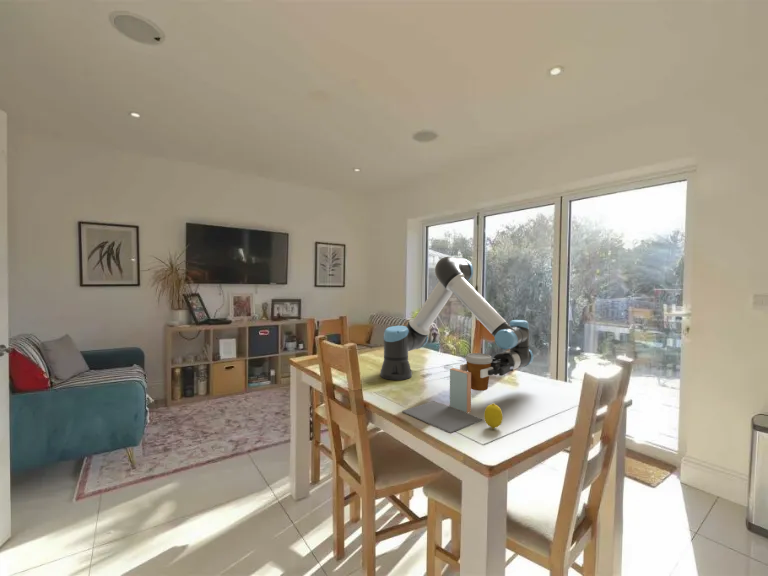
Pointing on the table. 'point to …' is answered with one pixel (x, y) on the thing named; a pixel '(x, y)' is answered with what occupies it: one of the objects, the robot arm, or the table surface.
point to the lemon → (493, 416)
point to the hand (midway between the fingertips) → (470, 371)
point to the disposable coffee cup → (478, 370)
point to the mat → (442, 416)
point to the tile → (460, 390)
